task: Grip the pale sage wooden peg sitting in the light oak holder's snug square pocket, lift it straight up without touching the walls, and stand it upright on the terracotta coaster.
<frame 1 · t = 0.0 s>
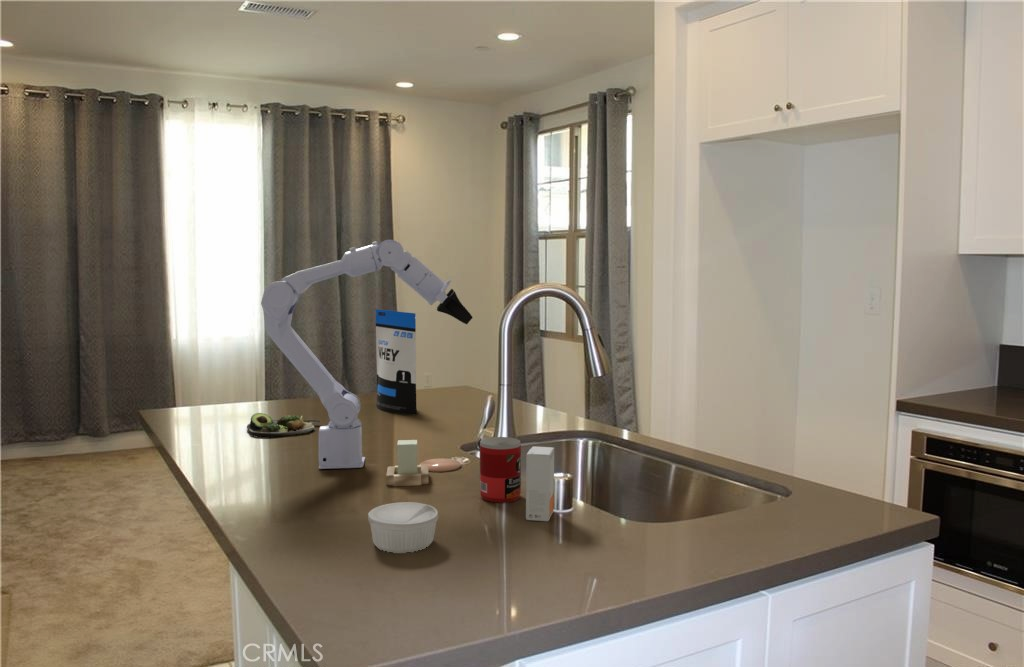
hand: (468, 319, 177), 32 cm above the counter, tool tilted 50°, fingers open, 7 cm apart
ramekin: (403, 545, 128), on the counter
canned food: (500, 498, 153), on the counter
skincare box: (540, 517, 142), on the counter
oak holder: (407, 479, 165), on the counter
protein powder: (396, 409, 242), on the counter
terracotta coaster: (440, 466, 175), on the counter
salad plate: (278, 432, 212), on the counter
sage peg: (407, 461, 164), in the oak holder
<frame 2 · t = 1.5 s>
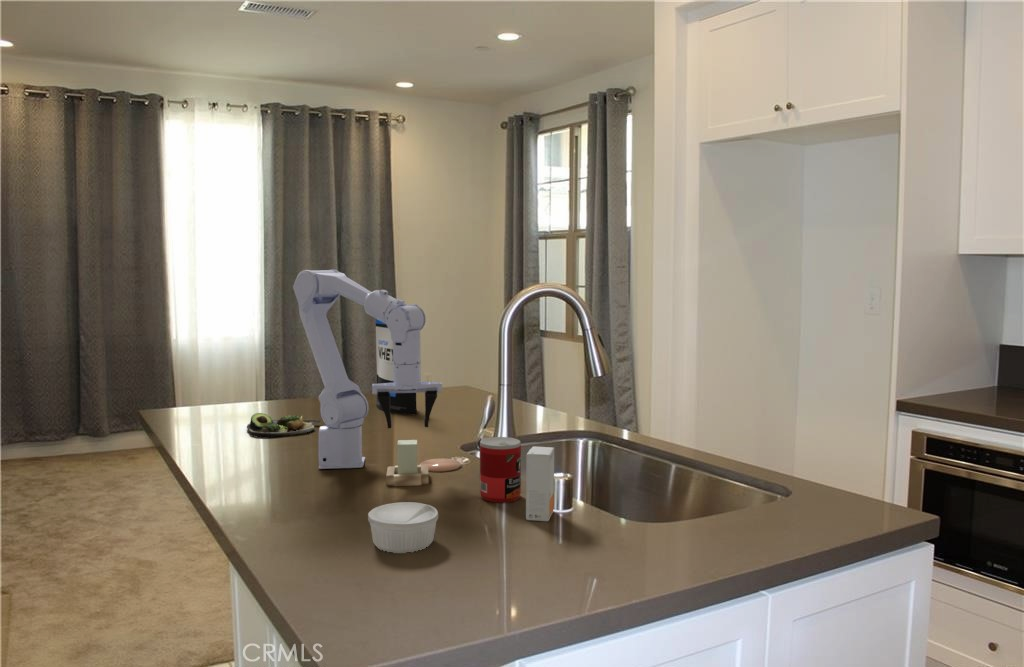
hand: (408, 426, 167), 10 cm above the counter, tool pointing down, fingers open, 7 cm apart
nothing on the counter moved.
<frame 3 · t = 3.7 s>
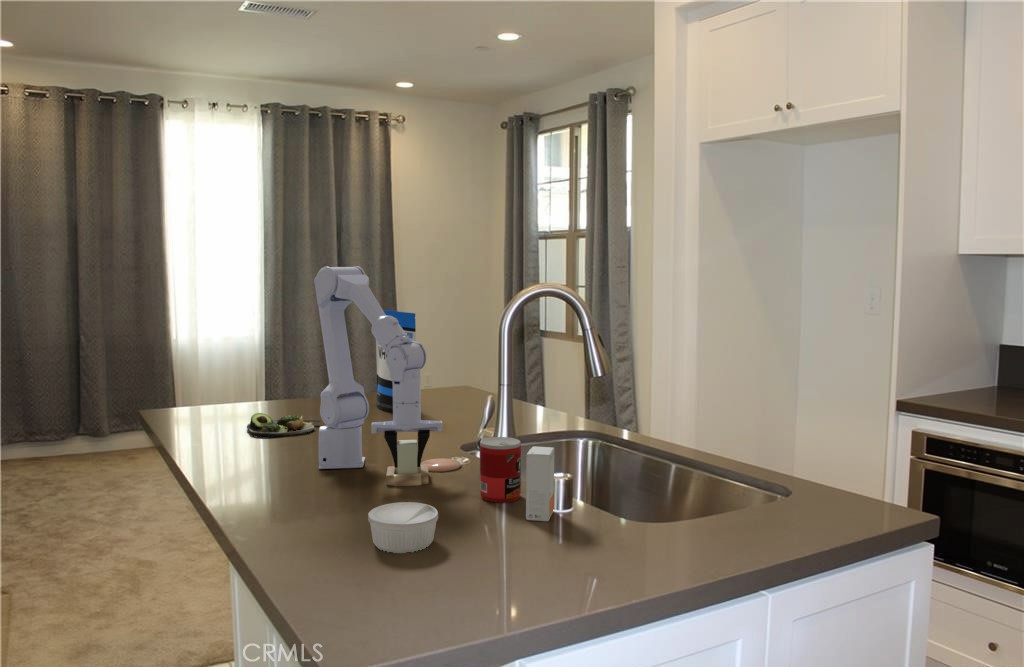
hand: (407, 466, 164), 3 cm above the counter, tool pointing down, fingers closed on sage peg, 4 cm apart
sage peg: (407, 461, 164), in the oak holder, touching gripper
everything else where it was.
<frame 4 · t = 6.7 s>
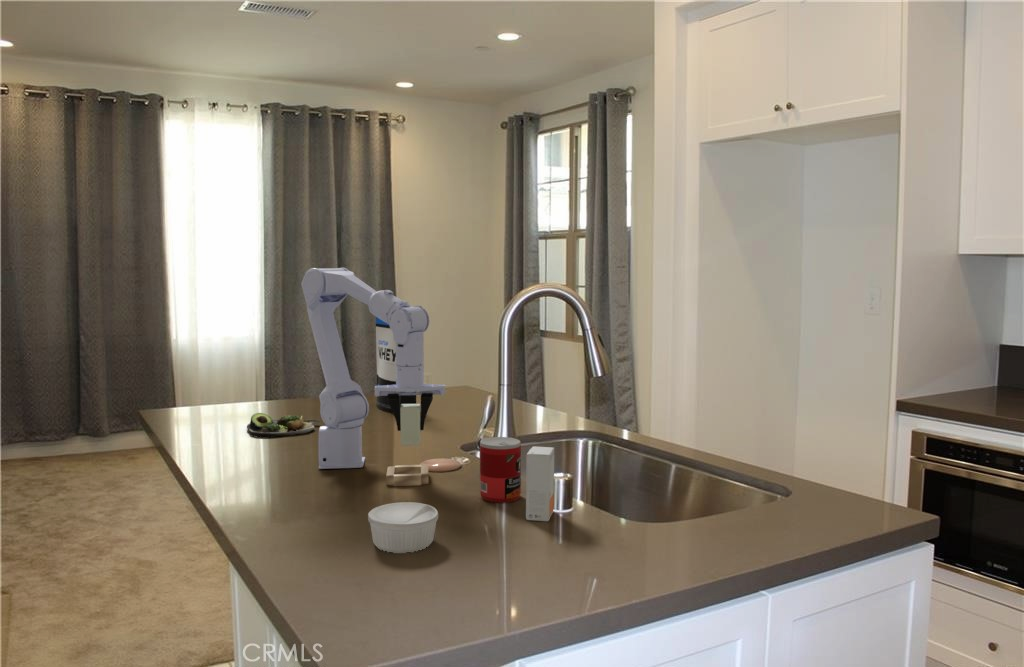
hand: (410, 429, 165), 10 cm above the counter, tool pointing down, fingers closed on sage peg, 4 cm apart
sage peg: (410, 424, 165), point 12 cm above the counter, touching gripper
everything else where it was.
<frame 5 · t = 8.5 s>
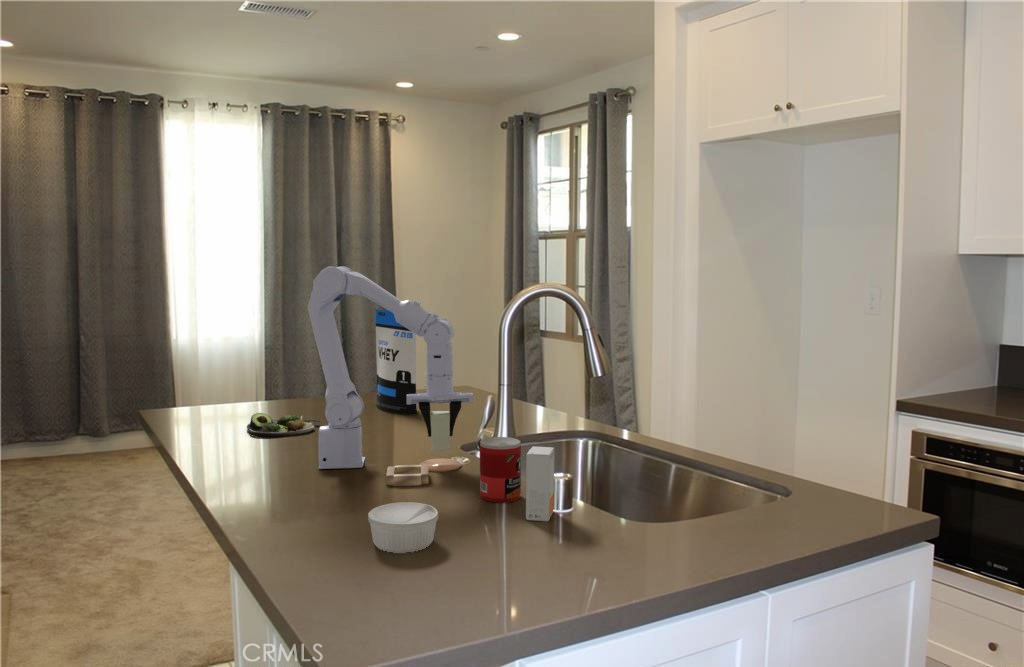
hand: (440, 435, 175), 7 cm above the counter, tool pointing down, fingers closed on sage peg, 4 cm apart
sage peg: (440, 430, 175), point 8 cm above the counter, touching gripper
everything else where it was.
when the fingers open (4 cm above the counter, at t = 9.9 s): sage peg stays where it is, resting on terracotta coaster.
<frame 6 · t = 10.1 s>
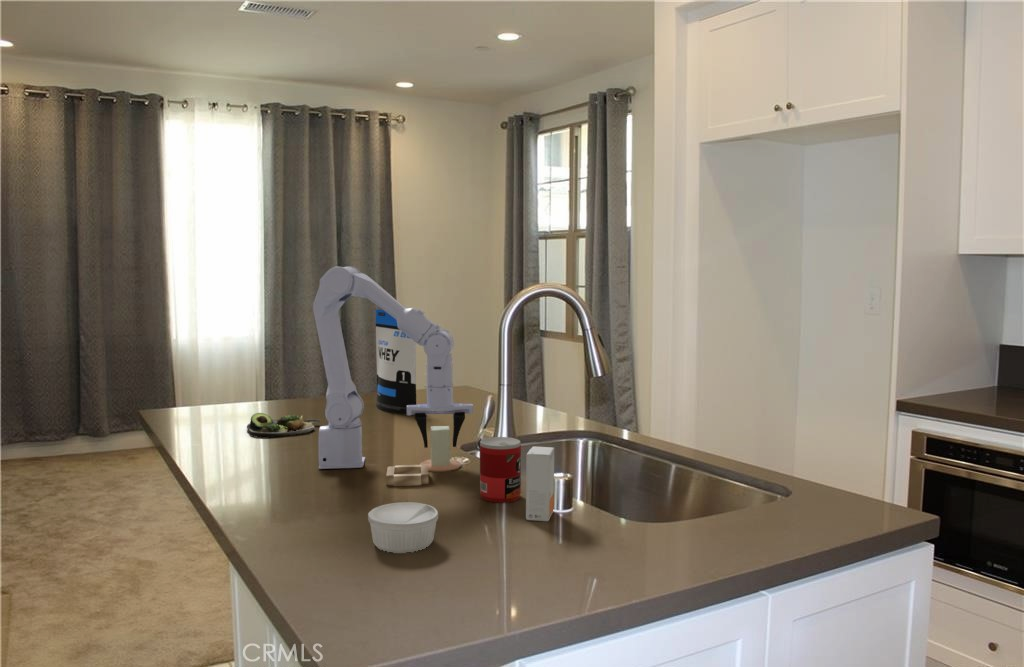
hand: (440, 446, 175), 5 cm above the counter, tool pointing down, fingers open, 6 cm apart
sage peg: (440, 445, 175), on the terracotta coaster, point 5 cm above the counter
everything else where it was.
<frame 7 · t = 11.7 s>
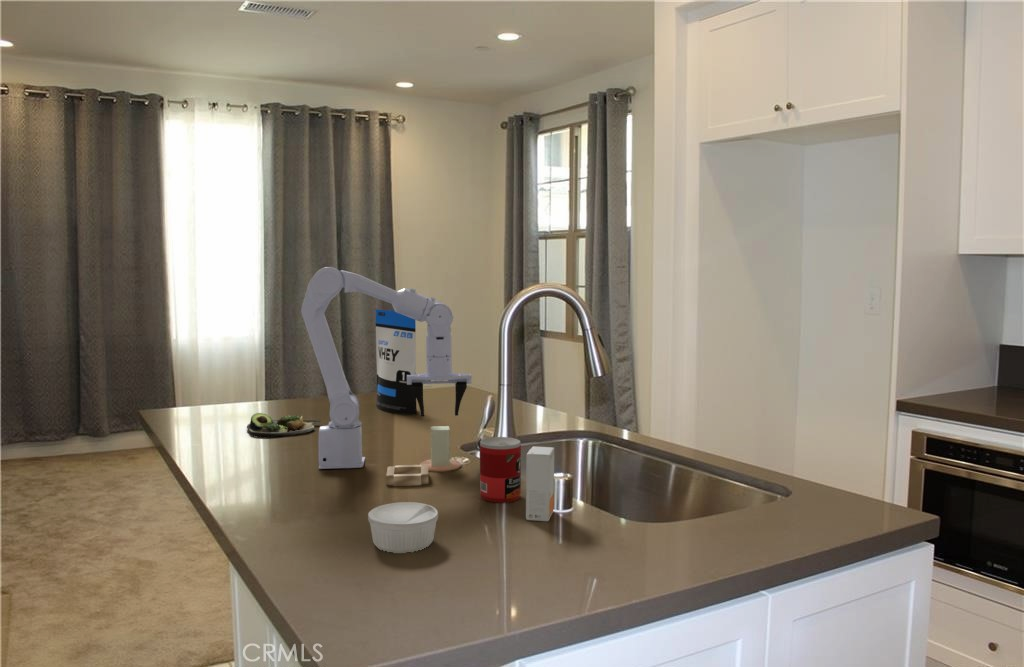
hand: (439, 415, 180), 10 cm above the counter, tool pointing down, fingers open, 7 cm apart
nothing on the counter moved.
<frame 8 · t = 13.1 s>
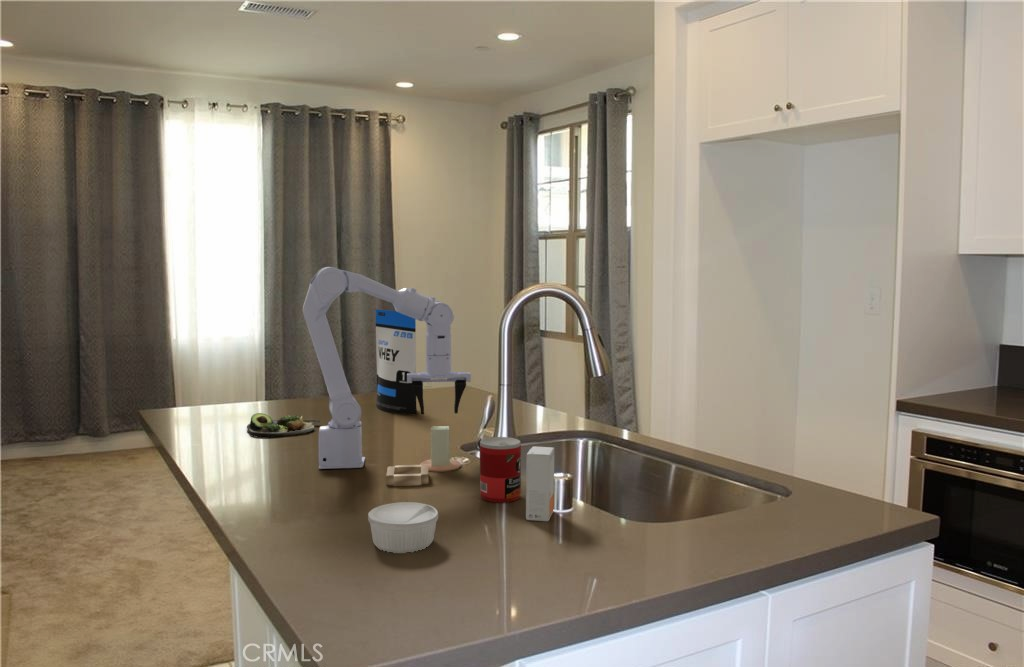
hand: (439, 413, 182), 10 cm above the counter, tool pointing down, fingers open, 7 cm apart
nothing on the counter moved.
at the end: sage peg 0.0 cm off-centre on the terracotta coaster, point 4.6 cm above the terracotta coaster's base; sage peg tilted 0°; sage peg touching terracotta coaster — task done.
